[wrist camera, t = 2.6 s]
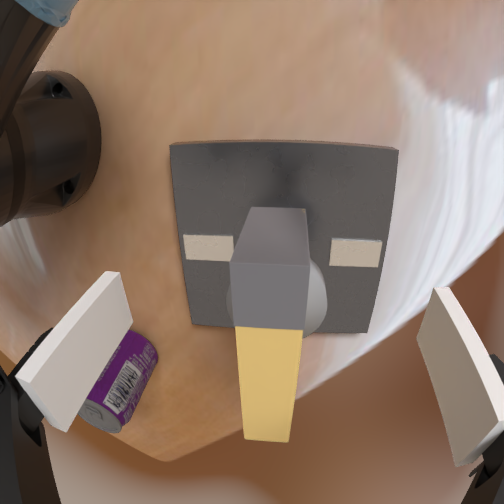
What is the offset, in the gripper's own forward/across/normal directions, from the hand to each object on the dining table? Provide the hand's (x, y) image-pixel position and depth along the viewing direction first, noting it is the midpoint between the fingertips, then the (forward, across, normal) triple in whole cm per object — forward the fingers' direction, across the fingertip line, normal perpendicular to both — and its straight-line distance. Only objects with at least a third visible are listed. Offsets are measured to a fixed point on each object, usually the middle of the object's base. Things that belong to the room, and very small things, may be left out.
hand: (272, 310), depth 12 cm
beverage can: (+16, -18, -20) cm, 31 cm away
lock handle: (+8, 0, -4) cm, 9 cm away
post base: (+15, 0, -4) cm, 16 cm away
